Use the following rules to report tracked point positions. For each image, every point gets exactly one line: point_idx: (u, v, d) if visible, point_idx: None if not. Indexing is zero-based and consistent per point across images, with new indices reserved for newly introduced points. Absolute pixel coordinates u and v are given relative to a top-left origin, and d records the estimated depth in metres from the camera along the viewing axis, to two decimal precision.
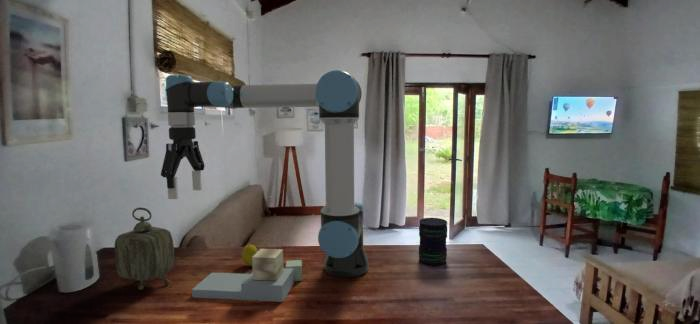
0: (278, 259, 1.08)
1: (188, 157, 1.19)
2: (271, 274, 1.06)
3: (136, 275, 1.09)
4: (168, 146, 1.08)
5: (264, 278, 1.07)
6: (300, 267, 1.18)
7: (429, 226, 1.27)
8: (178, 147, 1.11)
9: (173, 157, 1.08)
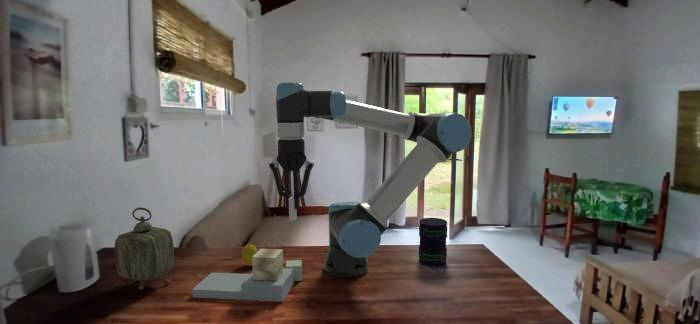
0: (278, 259, 1.08)
1: None
2: (271, 274, 1.06)
3: (136, 275, 1.09)
4: None
5: (264, 278, 1.07)
6: (300, 267, 1.18)
7: (429, 226, 1.27)
8: (278, 161, 1.05)
9: (276, 176, 1.05)
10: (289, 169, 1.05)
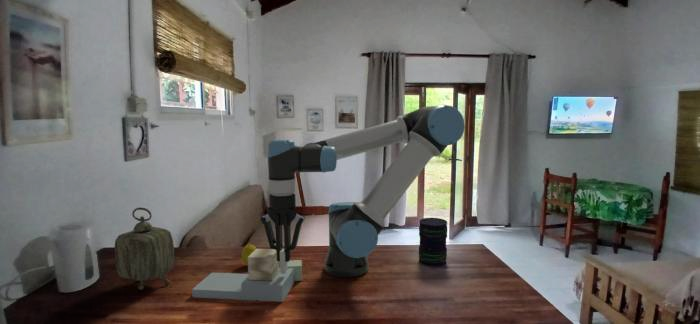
0: (274, 259, 1.09)
1: None
2: (267, 274, 1.07)
3: (136, 275, 1.09)
4: None
5: (260, 278, 1.07)
6: (300, 267, 1.18)
7: (429, 226, 1.27)
8: (270, 216, 1.07)
9: (267, 230, 1.07)
10: (280, 223, 1.07)
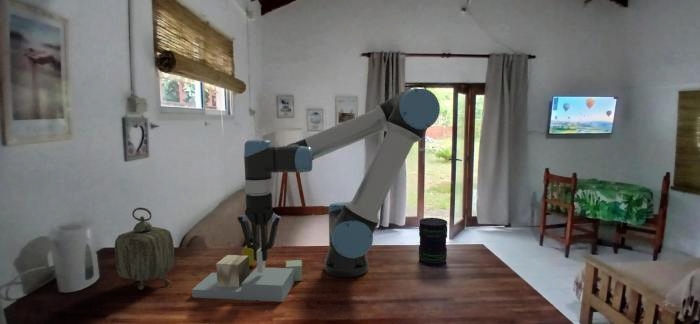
0: (225, 260, 1.11)
1: None
2: (232, 268, 1.08)
3: (136, 275, 1.09)
4: None
5: (237, 276, 1.08)
6: (300, 267, 1.18)
7: (429, 226, 1.27)
8: (247, 215, 1.08)
9: (244, 229, 1.08)
10: (257, 223, 1.08)
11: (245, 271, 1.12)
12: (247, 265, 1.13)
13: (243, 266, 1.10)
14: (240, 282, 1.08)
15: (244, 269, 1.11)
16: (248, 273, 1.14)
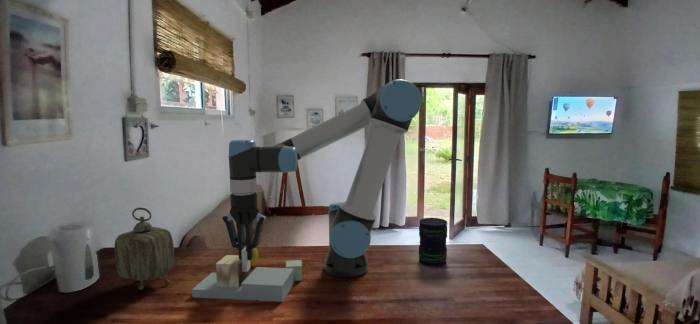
0: (225, 260, 1.11)
1: None
2: (232, 268, 1.08)
3: (136, 275, 1.09)
4: None
5: (236, 276, 1.08)
6: (300, 267, 1.18)
7: (429, 226, 1.27)
8: (231, 215, 1.08)
9: (229, 229, 1.09)
10: (241, 222, 1.08)
11: None
12: None
13: None
14: (240, 282, 1.08)
15: None
16: (248, 273, 1.14)
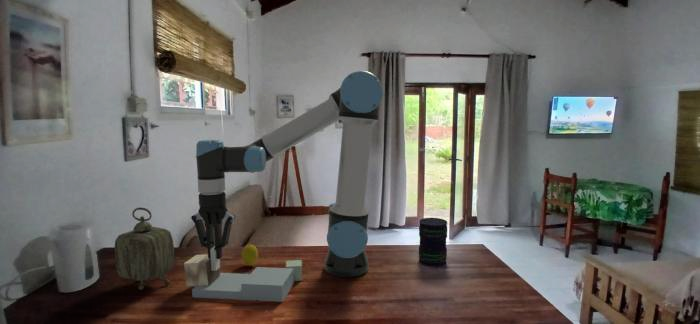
0: (193, 259, 1.11)
1: None
2: (200, 267, 1.09)
3: (136, 275, 1.09)
4: None
5: (205, 274, 1.09)
6: (300, 267, 1.18)
7: (429, 226, 1.27)
8: (200, 214, 1.10)
9: (198, 228, 1.10)
10: (210, 221, 1.09)
11: None
12: None
13: None
14: (209, 280, 1.09)
15: None
16: (218, 271, 1.15)
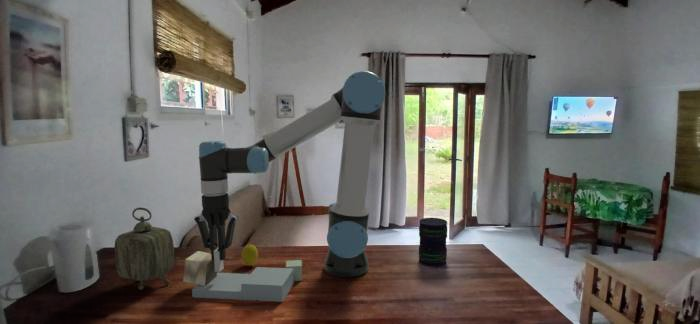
0: (195, 257, 1.11)
1: None
2: (201, 267, 1.08)
3: (136, 275, 1.09)
4: None
5: (204, 274, 1.09)
6: (300, 267, 1.18)
7: (429, 226, 1.27)
8: (203, 215, 1.10)
9: (201, 229, 1.10)
10: (213, 223, 1.09)
11: (213, 270, 1.13)
12: None
13: (212, 265, 1.11)
14: (206, 281, 1.09)
15: (212, 268, 1.12)
16: (216, 272, 1.15)
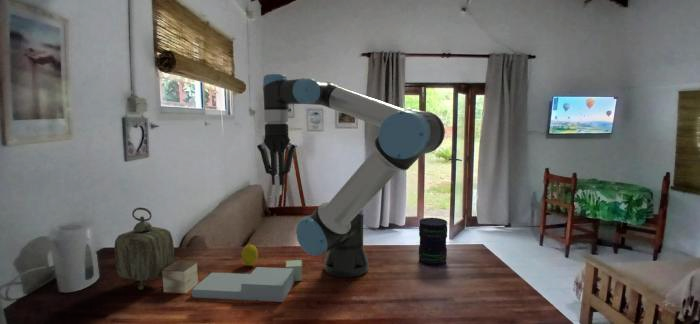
0: None
1: None
2: (166, 276, 1.10)
3: (136, 275, 1.09)
4: None
5: (173, 272, 1.10)
6: (300, 267, 1.18)
7: (429, 226, 1.27)
8: (265, 143, 1.20)
9: (263, 156, 1.21)
10: (275, 150, 1.20)
11: (182, 265, 1.14)
12: (181, 262, 1.15)
13: (173, 266, 1.13)
14: (180, 270, 1.10)
15: (178, 265, 1.13)
16: (190, 262, 1.16)
